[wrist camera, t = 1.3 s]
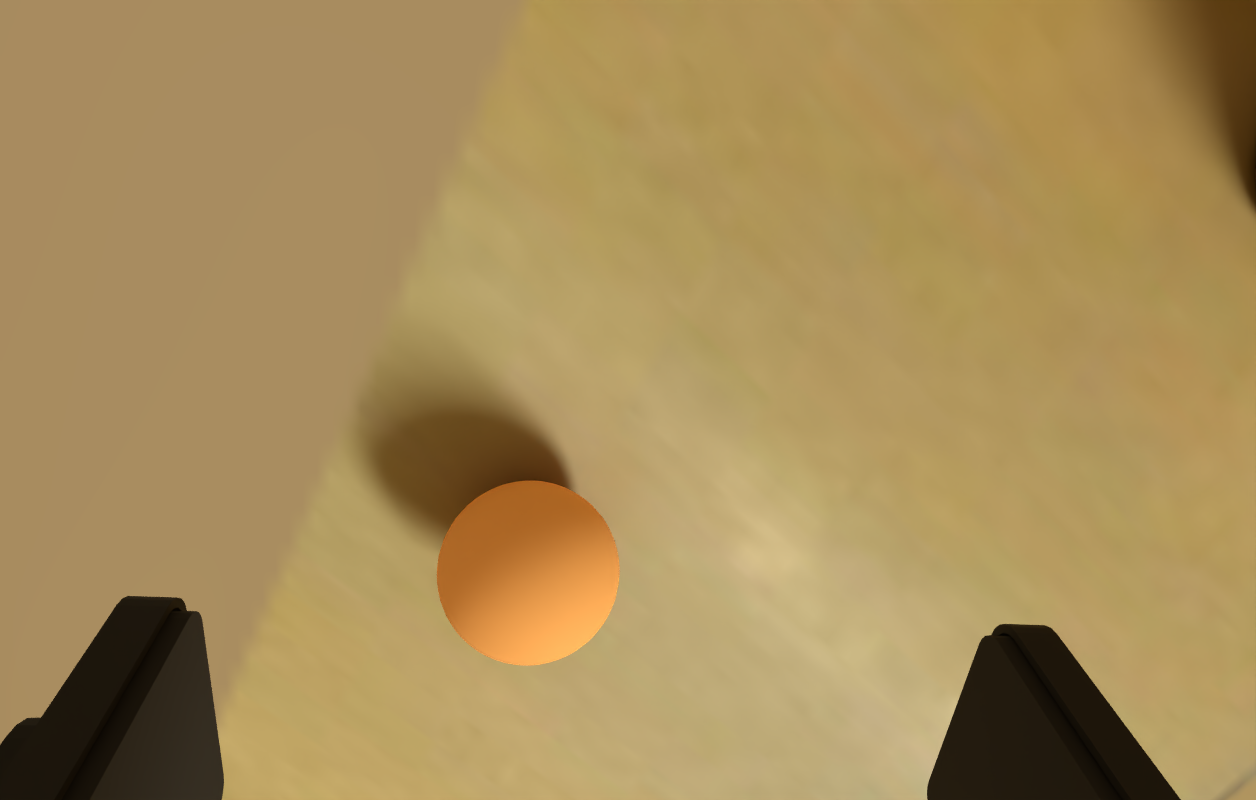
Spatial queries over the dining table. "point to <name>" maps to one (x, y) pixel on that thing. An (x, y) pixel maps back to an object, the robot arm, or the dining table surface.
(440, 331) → the dining table surface
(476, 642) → the ball
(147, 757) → the robot arm
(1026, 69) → the dining table surface
